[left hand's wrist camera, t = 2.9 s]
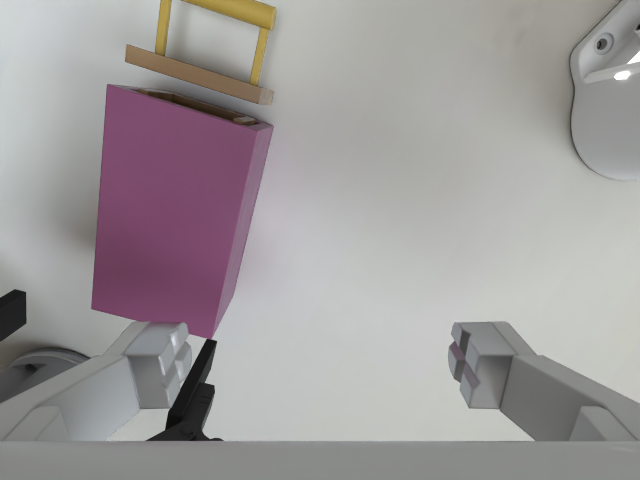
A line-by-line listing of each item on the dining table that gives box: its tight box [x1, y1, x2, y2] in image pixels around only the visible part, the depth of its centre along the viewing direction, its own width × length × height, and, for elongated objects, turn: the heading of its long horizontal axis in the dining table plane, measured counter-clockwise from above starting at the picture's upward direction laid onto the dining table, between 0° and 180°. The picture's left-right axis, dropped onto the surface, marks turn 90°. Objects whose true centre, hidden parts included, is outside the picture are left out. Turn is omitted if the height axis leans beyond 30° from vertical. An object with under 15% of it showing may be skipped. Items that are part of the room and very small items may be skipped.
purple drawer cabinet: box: [91, 84, 273, 339], centre depth 33 cm, size 20×11×8 cm, turn 163°
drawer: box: [125, 0, 276, 126], centre depth 31 cm, size 24×10×6 cm, turn 163°
